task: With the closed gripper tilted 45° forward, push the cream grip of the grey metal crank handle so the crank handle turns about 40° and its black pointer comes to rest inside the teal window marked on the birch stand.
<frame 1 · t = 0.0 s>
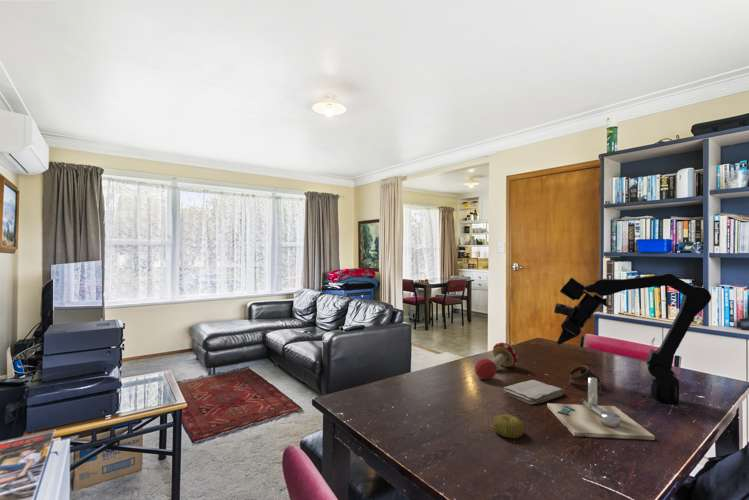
hand: (559, 341, 136), 15 cm above the table, tool tilted 35°, fingers open, 9 cm apart
crank handle: (599, 399, 104), point 6 cm above the table, hinge at 0.0°
stand: (595, 421, 103), on the table
pottery mug: (585, 386, 131), on the table
green sea urchin shell: (508, 434, 96), on the table
tomato: (485, 379, 137), on the table
decorative mushroom: (499, 368, 150), on the table
washcloth: (532, 396, 123), on the table
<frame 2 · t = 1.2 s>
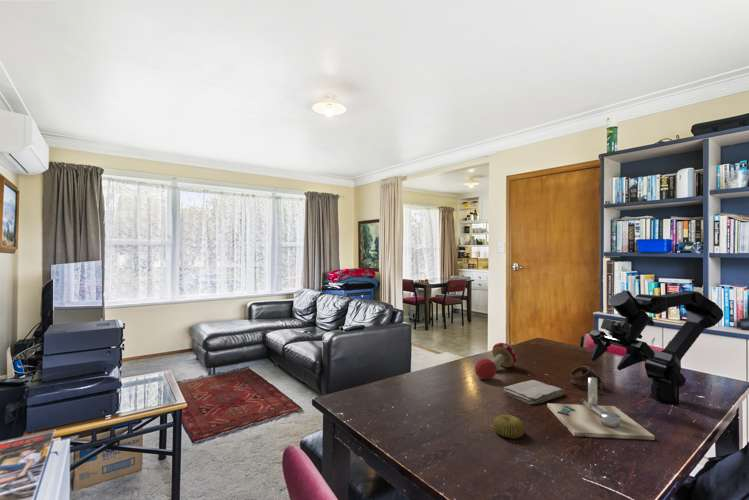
hand: (604, 364, 112), 14 cm above the table, tool tilted 45°, fingers open, 9 cm apart
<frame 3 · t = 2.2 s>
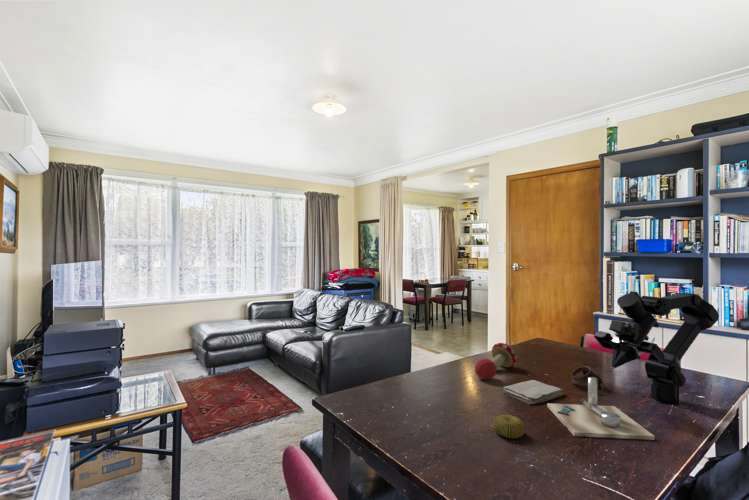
hand: (613, 366, 110), 14 cm above the table, tool tilted 45°, fingers closed
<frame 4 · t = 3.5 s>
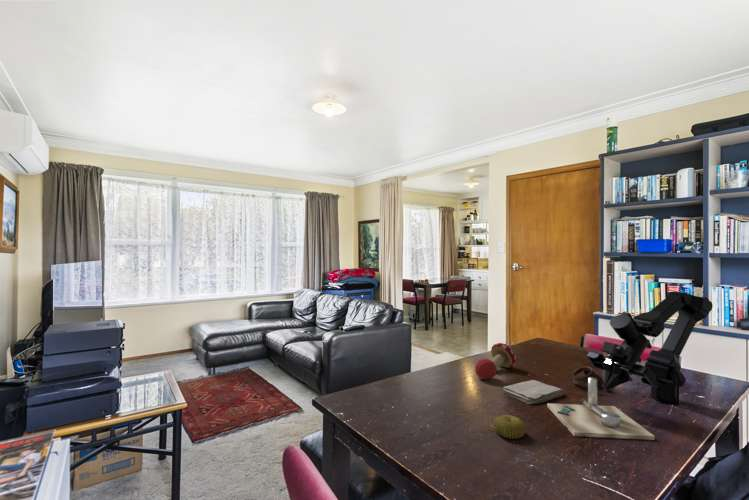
hand: (605, 389, 109), 7 cm above the table, tool tilted 45°, fingers closed
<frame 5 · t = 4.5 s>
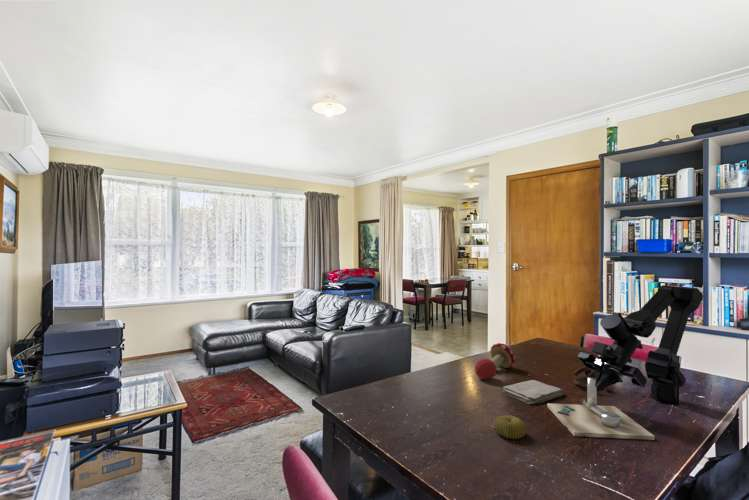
hand: (595, 389, 108), 7 cm above the table, tool tilted 45°, fingers closed, pressing on crank handle
crank handle: (599, 399, 104), point 6 cm above the table, hinge at 1.5°, touching gripper
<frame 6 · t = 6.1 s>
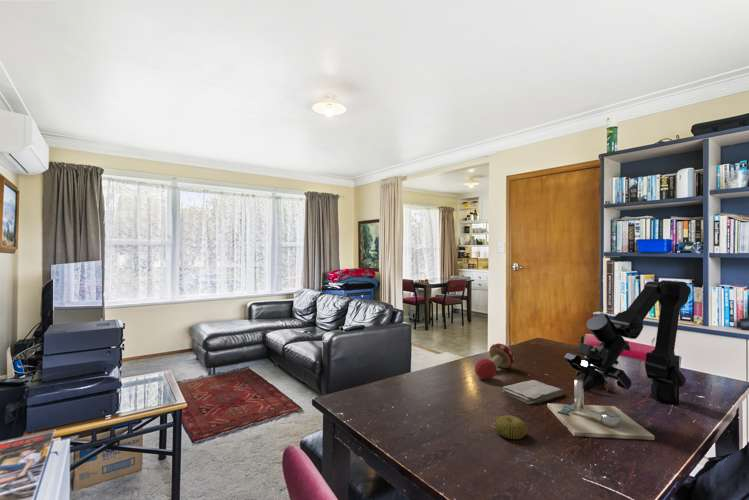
hand: (579, 391, 106), 7 cm above the table, tool tilted 45°, fingers closed, pressing on crank handle
crank handle: (591, 400, 103), point 6 cm above the table, hinge at 40.4°, touching gripper
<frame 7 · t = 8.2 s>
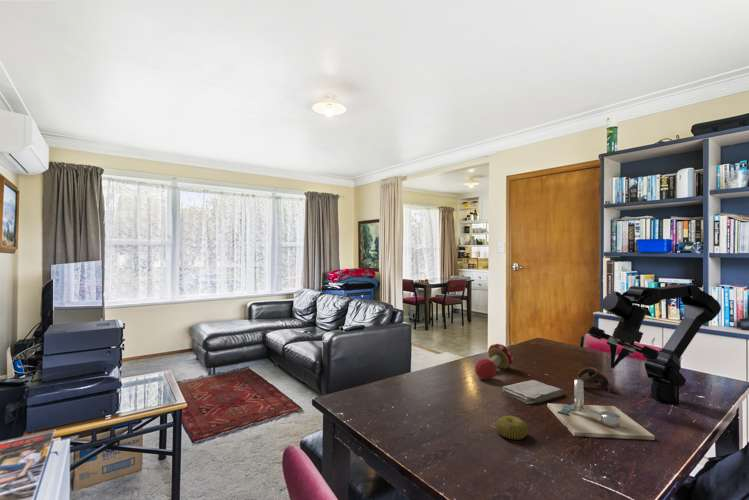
hand: (612, 367, 115), 12 cm above the table, tool tilted 25°, fingers closed
crank handle: (591, 400, 103), point 6 cm above the table, hinge at 40.5°
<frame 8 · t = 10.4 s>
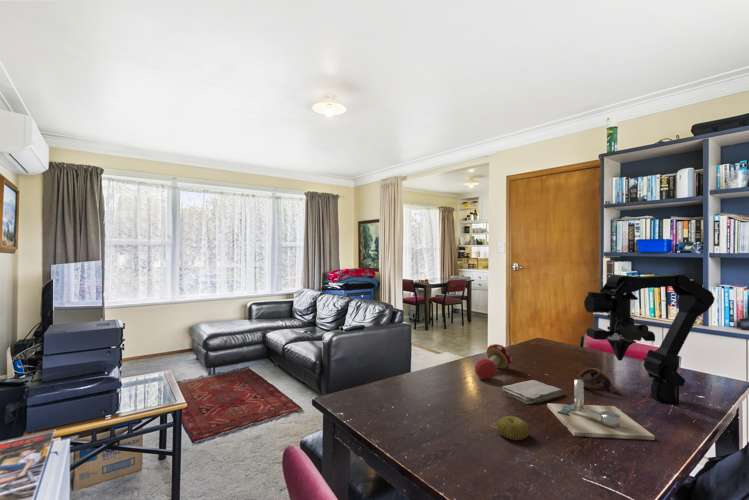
hand: (619, 360, 119), 13 cm above the table, tool pointing down, fingers closed
at the end: crank handle at +40° (first picture: +0°) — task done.
